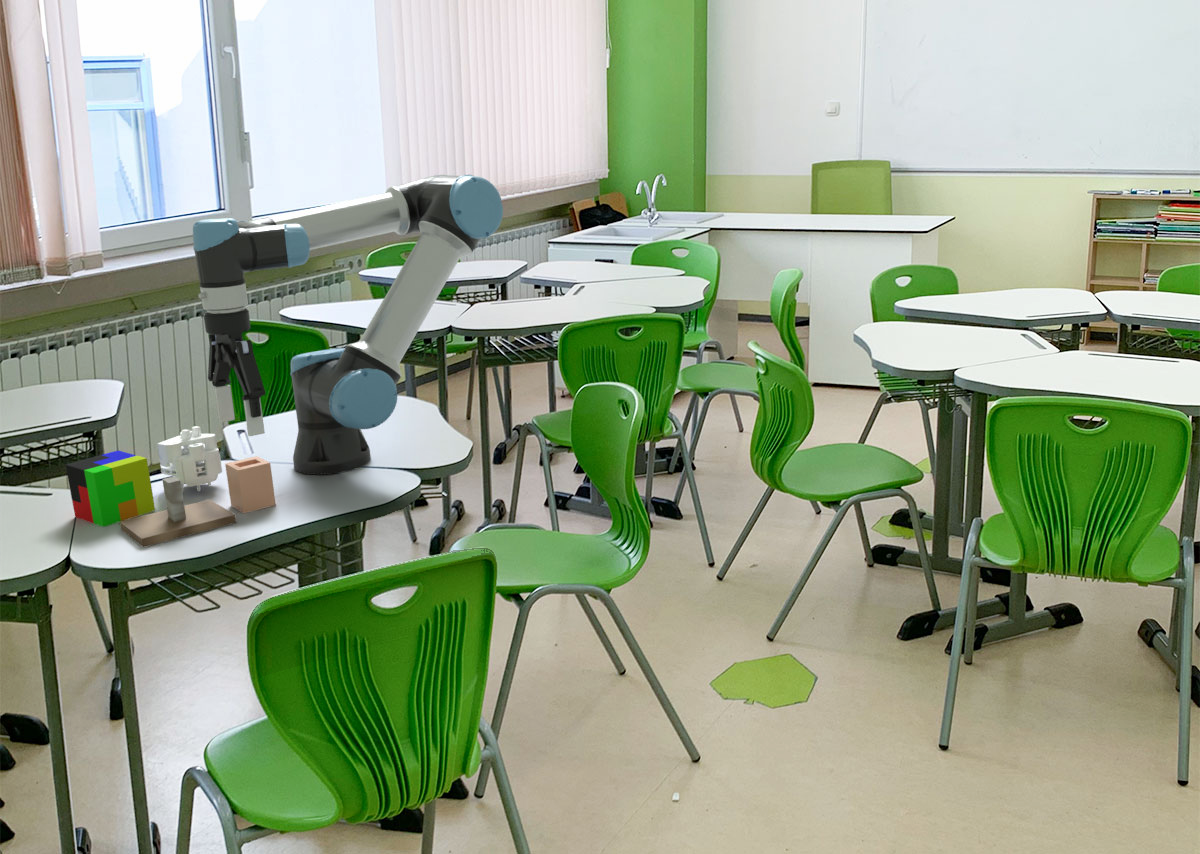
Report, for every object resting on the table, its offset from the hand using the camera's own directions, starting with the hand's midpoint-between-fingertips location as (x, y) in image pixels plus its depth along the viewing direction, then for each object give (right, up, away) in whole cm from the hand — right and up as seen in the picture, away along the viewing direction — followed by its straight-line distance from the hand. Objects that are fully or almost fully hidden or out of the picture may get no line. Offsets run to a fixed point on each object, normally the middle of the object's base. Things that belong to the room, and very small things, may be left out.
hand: (241, 427), depth 208 cm
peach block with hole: (+1, -14, +4) cm, 15 cm away
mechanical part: (-14, -12, +16) cm, 24 cm away
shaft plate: (-9, -17, -5) cm, 20 cm away
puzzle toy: (-24, -16, +4) cm, 29 cm away
